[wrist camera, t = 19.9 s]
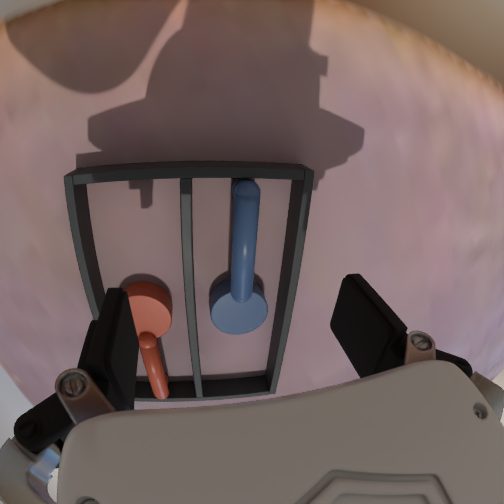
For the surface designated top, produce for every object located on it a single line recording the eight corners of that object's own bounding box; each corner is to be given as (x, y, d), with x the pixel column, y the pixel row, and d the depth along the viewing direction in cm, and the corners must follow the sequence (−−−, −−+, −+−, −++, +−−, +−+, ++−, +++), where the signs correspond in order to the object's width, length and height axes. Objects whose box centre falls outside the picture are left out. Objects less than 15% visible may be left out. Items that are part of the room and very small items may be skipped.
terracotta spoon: (169, 279, 19) (167, 303, 17) (183, 378, 24) (184, 401, 22) (115, 280, 18) (107, 303, 16) (142, 379, 23) (140, 401, 21)
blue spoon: (209, 320, 21) (212, 345, 19) (208, 172, 16) (211, 182, 14) (260, 317, 22) (268, 341, 20) (274, 173, 17) (287, 184, 15)
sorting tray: (129, 377, 24) (126, 401, 21) (81, 165, 15) (63, 175, 12) (268, 371, 27) (275, 393, 24) (297, 161, 18) (315, 170, 15)
